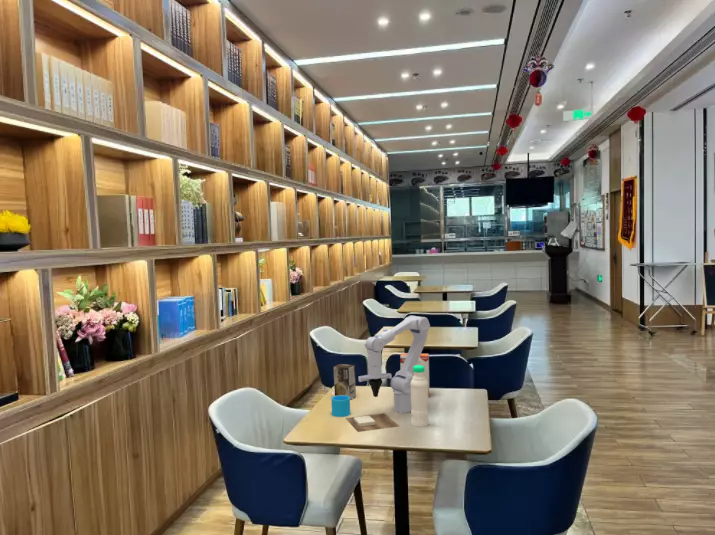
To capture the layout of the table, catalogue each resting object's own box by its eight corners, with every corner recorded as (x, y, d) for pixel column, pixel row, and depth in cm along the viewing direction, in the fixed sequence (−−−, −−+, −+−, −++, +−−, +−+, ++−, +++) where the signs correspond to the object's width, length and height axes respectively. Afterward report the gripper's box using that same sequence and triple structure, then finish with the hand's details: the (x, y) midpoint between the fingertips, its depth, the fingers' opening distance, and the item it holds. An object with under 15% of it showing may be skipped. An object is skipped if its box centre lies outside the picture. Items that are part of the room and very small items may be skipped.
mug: (346, 419, 227) (346, 401, 226) (329, 418, 229) (328, 400, 229) (355, 411, 238) (355, 393, 238) (338, 410, 241) (338, 392, 240)
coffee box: (356, 397, 261) (355, 364, 260) (349, 400, 255) (348, 367, 255) (340, 394, 265) (340, 363, 265) (334, 398, 260) (333, 366, 259)
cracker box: (400, 397, 258) (399, 355, 258) (401, 393, 264) (400, 352, 263) (429, 397, 256) (428, 355, 255) (429, 394, 262) (428, 353, 261)
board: (384, 415, 231) (384, 413, 231) (399, 428, 214) (399, 426, 214) (345, 420, 226) (345, 418, 226) (357, 434, 209) (357, 431, 209)
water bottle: (417, 429, 212) (416, 368, 211) (408, 424, 218) (406, 365, 217) (432, 426, 215) (430, 366, 214) (422, 421, 221) (421, 363, 220)
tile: (369, 415, 224) (353, 417, 222) (375, 421, 216) (359, 423, 214) (369, 419, 224) (353, 421, 222) (375, 425, 216) (359, 427, 214)
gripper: (387, 361, 232) (387, 392, 232) (355, 364, 228) (356, 395, 228) (393, 365, 225) (393, 396, 226) (360, 368, 221) (361, 400, 221)
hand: (375, 396), depth 226 cm, fingers closed
